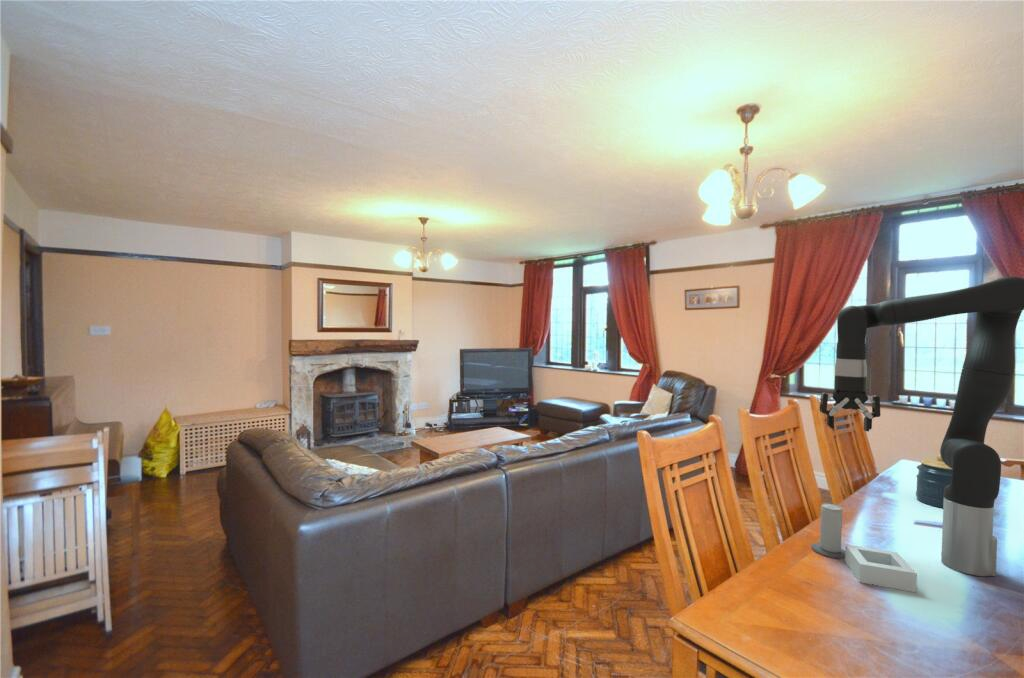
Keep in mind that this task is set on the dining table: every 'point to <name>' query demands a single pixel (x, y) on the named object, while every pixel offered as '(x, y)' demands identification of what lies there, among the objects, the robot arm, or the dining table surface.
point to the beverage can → (831, 528)
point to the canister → (932, 481)
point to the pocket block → (880, 568)
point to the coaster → (820, 551)
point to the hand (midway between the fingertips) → (848, 429)
